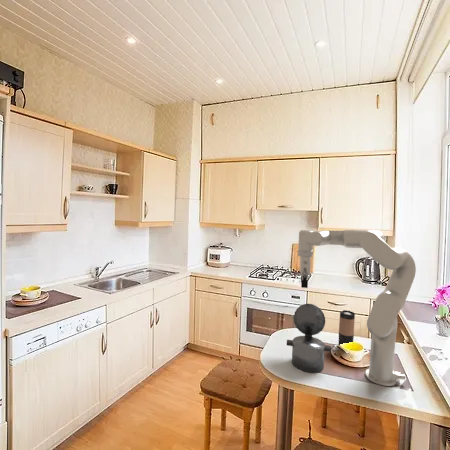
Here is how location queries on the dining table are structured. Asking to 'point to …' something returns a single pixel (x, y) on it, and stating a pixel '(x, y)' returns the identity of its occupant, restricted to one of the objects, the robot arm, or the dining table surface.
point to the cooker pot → (308, 353)
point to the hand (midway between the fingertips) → (304, 285)
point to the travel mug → (346, 326)
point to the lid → (309, 319)
